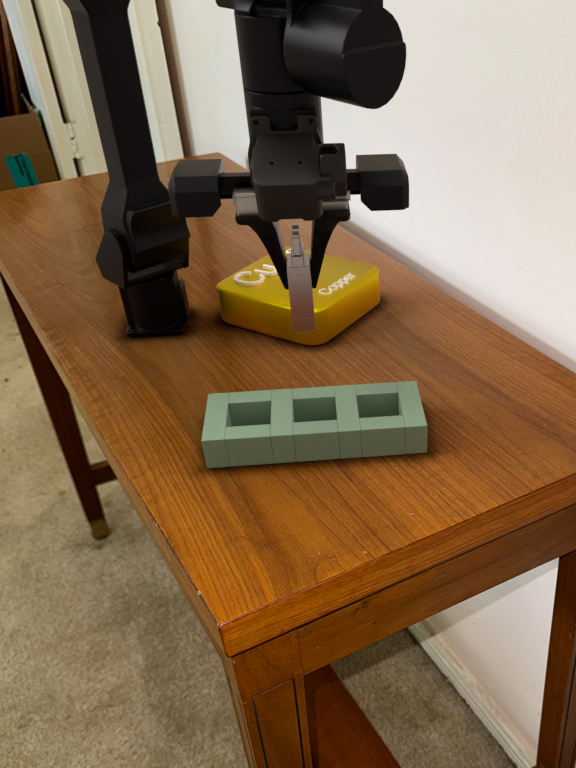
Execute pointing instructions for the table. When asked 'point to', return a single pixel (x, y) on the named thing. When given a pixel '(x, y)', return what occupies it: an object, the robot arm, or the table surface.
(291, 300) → the flat stepped stick
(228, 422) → the rack
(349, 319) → the element tile
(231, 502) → the table surface
